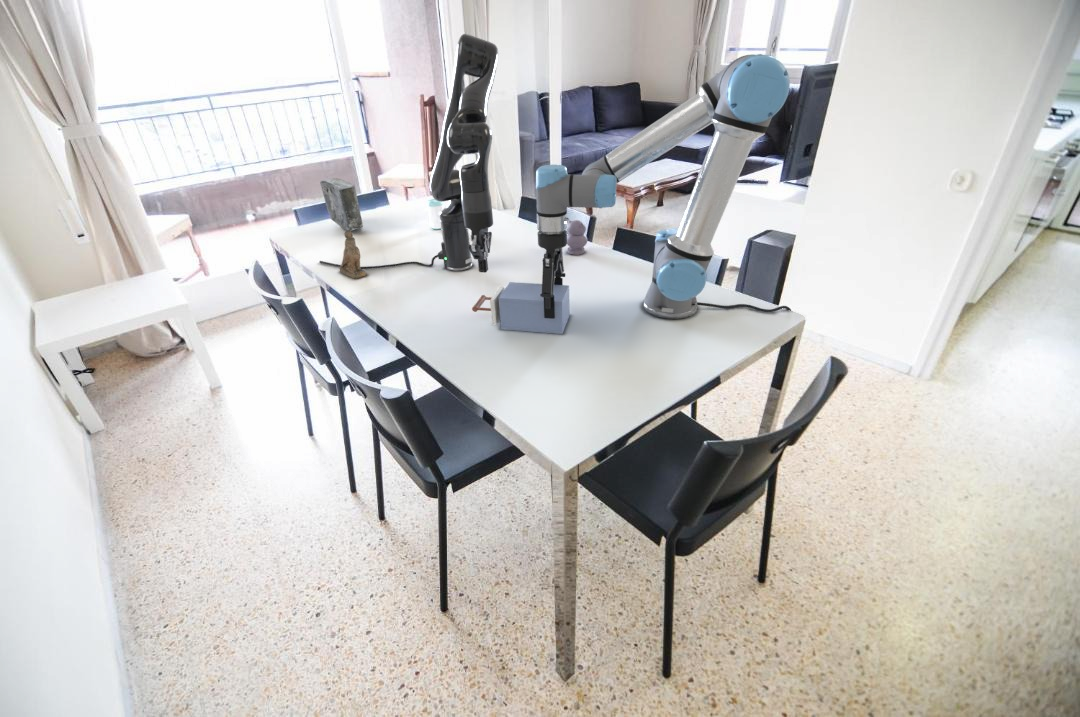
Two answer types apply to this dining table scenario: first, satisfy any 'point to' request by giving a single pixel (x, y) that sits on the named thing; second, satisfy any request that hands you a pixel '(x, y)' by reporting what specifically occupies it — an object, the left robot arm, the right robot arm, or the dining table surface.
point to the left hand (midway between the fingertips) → (483, 271)
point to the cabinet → (532, 308)
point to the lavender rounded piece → (576, 237)
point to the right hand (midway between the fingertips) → (553, 308)
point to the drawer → (494, 305)
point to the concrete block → (342, 203)
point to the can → (435, 213)
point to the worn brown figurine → (351, 258)
